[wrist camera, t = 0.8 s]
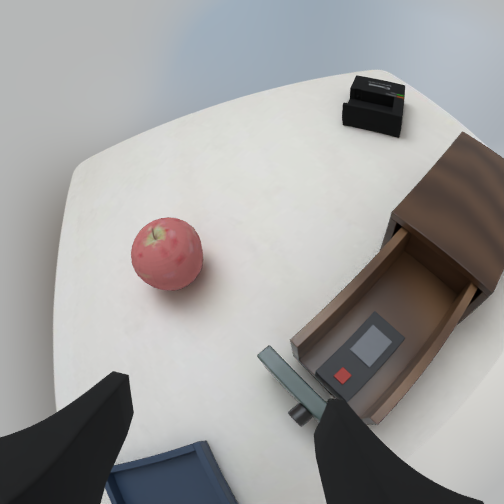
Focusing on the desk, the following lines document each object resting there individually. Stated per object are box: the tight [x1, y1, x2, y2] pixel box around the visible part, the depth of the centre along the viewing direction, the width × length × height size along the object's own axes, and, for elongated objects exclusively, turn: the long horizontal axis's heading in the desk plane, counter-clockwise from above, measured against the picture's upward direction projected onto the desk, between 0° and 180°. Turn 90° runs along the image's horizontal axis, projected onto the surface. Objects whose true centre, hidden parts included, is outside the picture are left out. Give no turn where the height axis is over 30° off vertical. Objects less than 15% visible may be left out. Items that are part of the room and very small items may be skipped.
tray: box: [105, 441, 238, 504], centre depth 19 cm, size 12×8×2 cm, turn 115°
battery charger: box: [342, 76, 405, 137], centre depth 42 cm, size 13×10×4 cm
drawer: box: [257, 226, 478, 427], centre depth 22 cm, size 20×10×6 cm, turn 130°
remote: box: [315, 311, 405, 402], centre depth 22 cm, size 4×7×2 cm, turn 130°
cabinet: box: [380, 131, 504, 325], centre depth 26 cm, size 20×12×8 cm, turn 130°
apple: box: [131, 218, 203, 290], centre depth 30 cm, size 7×7×8 cm
